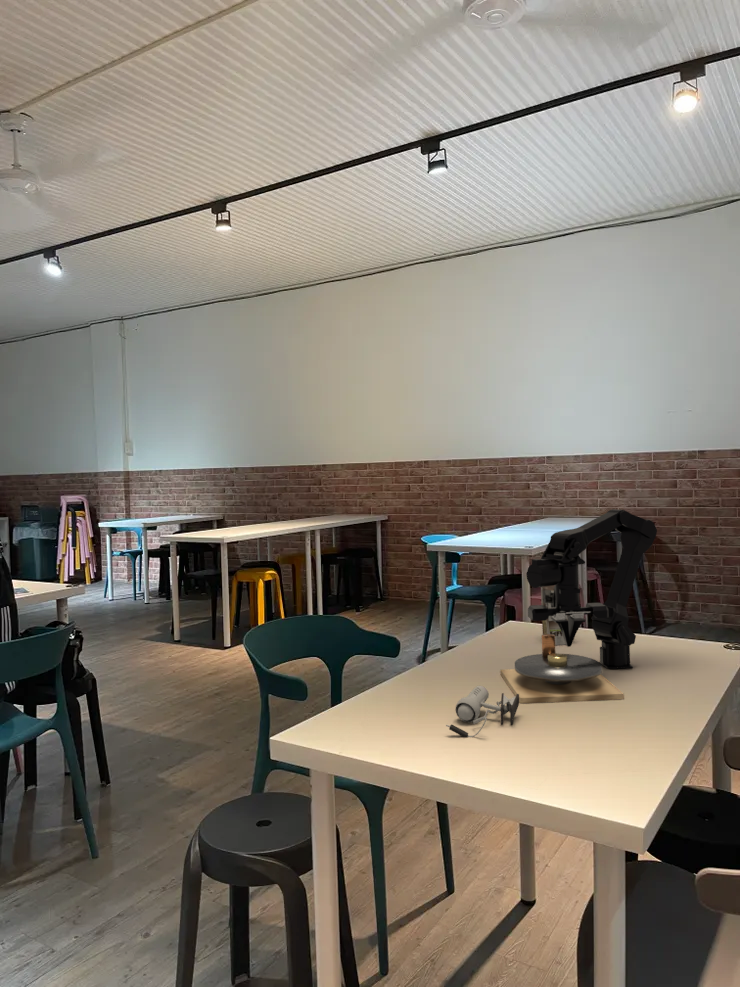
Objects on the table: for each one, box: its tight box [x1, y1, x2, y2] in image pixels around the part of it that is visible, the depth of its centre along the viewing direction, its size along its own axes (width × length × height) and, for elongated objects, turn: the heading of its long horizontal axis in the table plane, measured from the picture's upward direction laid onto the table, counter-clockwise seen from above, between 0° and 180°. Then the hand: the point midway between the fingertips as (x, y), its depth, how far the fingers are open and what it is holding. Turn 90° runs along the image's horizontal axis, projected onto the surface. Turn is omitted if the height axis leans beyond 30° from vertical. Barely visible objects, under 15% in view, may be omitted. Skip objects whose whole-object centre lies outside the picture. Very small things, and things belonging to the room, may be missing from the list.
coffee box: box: [540, 585, 570, 646], centre depth 216 cm, size 9×6×16 cm
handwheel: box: [514, 634, 603, 682], centre depth 173 cm, size 20×20×6 cm
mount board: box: [499, 668, 625, 704], centre depth 173 cm, size 23×23×4 cm
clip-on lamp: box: [445, 685, 520, 738], centre depth 149 cm, size 12×6×18 cm
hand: (568, 646), depth 181 cm, fingers closed
